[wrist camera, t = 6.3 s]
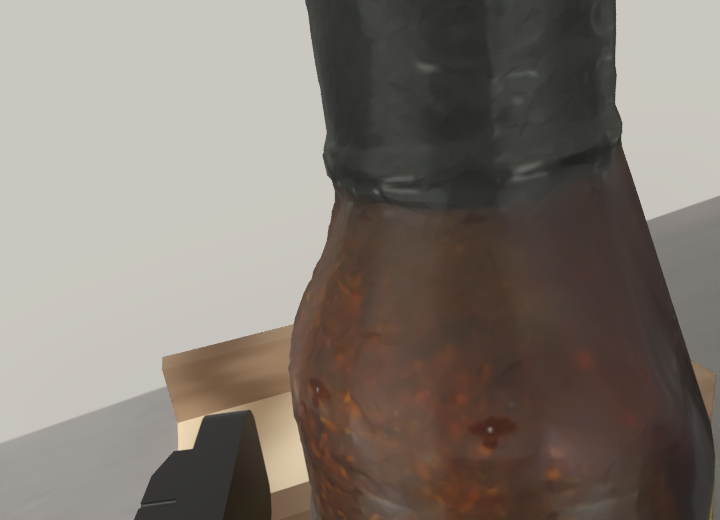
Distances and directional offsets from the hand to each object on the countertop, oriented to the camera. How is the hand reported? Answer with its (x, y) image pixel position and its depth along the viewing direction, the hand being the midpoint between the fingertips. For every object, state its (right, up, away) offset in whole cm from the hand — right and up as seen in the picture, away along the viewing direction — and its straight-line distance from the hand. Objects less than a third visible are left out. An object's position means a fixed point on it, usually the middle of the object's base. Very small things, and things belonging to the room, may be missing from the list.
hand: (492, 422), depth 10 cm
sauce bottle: (+1, -11, +4) cm, 11 cm away
